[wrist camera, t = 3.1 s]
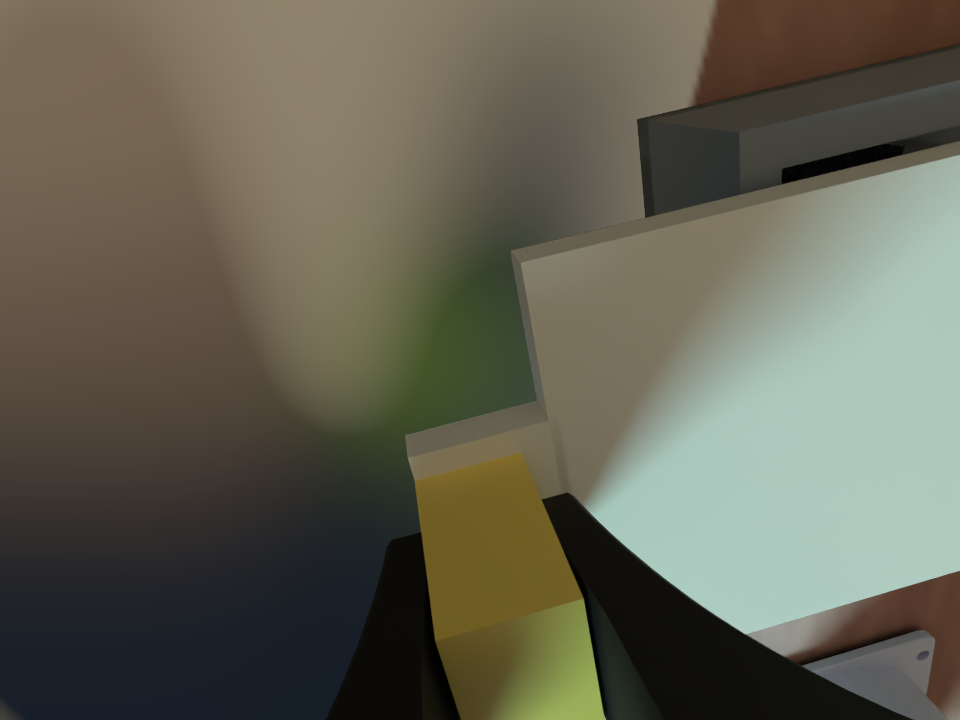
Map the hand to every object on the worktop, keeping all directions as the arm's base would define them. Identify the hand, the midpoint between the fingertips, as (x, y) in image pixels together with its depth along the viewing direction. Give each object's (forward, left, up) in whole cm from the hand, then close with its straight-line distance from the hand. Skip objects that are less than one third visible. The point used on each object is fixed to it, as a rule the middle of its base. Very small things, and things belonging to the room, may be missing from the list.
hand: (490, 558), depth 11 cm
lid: (0, -7, -2) cm, 7 cm away
